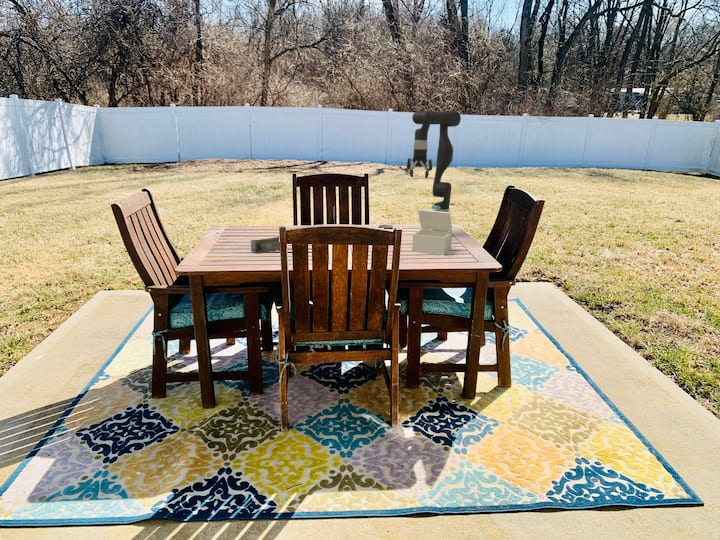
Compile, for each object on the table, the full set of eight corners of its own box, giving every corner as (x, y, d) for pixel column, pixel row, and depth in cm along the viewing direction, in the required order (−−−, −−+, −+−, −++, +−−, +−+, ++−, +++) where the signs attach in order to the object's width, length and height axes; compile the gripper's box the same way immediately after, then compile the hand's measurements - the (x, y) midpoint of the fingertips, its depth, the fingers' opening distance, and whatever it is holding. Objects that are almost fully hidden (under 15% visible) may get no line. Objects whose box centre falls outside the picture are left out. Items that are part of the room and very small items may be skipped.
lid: (421, 228, 288) (424, 221, 291) (452, 231, 281) (454, 224, 284) (417, 210, 276) (420, 202, 279) (449, 213, 269) (452, 205, 272)
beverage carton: (250, 250, 275) (250, 238, 273) (283, 246, 284) (283, 235, 282) (255, 254, 268) (254, 242, 266) (289, 250, 277) (288, 238, 276)
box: (420, 245, 291) (421, 228, 288) (450, 249, 284) (452, 232, 281) (412, 251, 278) (413, 234, 275) (443, 255, 271) (445, 237, 268)
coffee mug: (374, 242, 296) (375, 225, 293) (385, 240, 301) (386, 224, 298) (387, 246, 287) (388, 229, 284) (398, 244, 292) (399, 227, 289)
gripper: (434, 148, 282) (432, 177, 287) (410, 147, 288) (409, 176, 293) (430, 149, 276) (429, 179, 281) (406, 148, 281) (404, 177, 286)
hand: (418, 177), depth 287 cm, fingers open, 8 cm apart
